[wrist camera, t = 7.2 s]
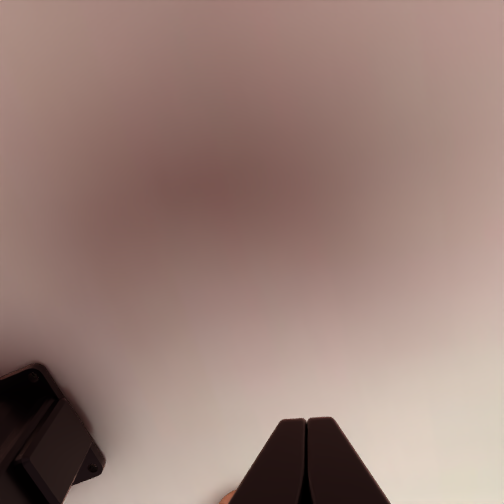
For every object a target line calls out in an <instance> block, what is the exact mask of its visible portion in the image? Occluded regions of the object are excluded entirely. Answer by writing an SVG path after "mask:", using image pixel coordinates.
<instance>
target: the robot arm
mask: <svg viewBox="0 0 504 504" xmlns="http://www.w3.org/2000/svg"><path fill="white" fill-rule="evenodd" d="M32 373H35V374H37V375H38V377H39V378H36V377H34V376H33V375H32ZM91 464H95V465H96V466H97V467H95V466H92V465H91ZM104 467H105V460H104V458H103V457H102V455H101V453H100V452H99V450H98V449H97V447H96V446H95V444H94V443H93V441H92V438H91V436H90V435H89V433H88V431H87V430H86V428H85V427H84V425H83V424H82V422H81V421H80V419H79V417H78V416H77V414H76V413H75V411H74V410H73V408H72V407H71V405H70V403H69V402H68V401H67V400H66V399H65V398H64V396H63V394H62V393H61V391H60V390H59V388H58V387H57V385H56V384H55V382H54V380H53V379H52V377H51V376H50V374H49V373H48V371H47V370H46V368H45V367H44V366H42V365H40V364H31V365H29V366H26V367H24V368H22V369H19V370H17V371H14V372H12V373H10V374H7V375H5V376H2V377H0V504H63V502H64V500H65V498H66V496H67V494H68V492H69V489H70V487H71V486H72V485H75V484H78V483H80V482H83V481H86V480H88V479H91V478H94V477H96V476H98V475H100V474H101V473H102V471H103V469H104ZM228 504H391V503H390V502H389V500H388V499H387V497H386V496H385V494H384V493H383V491H382V490H381V488H380V487H379V485H378V484H377V482H376V481H375V479H374V478H373V476H372V475H371V473H370V472H369V470H368V469H367V467H366V466H365V464H364V463H363V461H362V460H361V458H360V457H359V455H358V454H357V452H356V451H355V449H354V448H353V446H352V445H351V443H350V442H349V440H348V439H347V437H346V436H345V434H344V433H343V431H342V430H341V428H340V427H339V425H338V424H337V422H336V421H335V420H334V419H333V418H332V417H314V418H309V419H308V421H306V420H305V419H304V418H296V419H283V420H281V421H280V422H279V424H278V425H277V427H276V428H275V430H274V431H273V433H272V435H271V436H270V438H269V439H268V441H267V442H266V444H265V446H264V447H263V449H262V450H261V452H260V453H259V455H258V457H257V458H256V460H255V461H254V463H253V464H252V466H251V468H250V469H249V471H248V472H247V474H246V475H245V477H244V479H243V480H242V482H241V483H240V485H239V486H238V488H237V490H236V491H235V493H234V494H233V496H232V498H231V499H230V501H229V502H228Z"/></svg>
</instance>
